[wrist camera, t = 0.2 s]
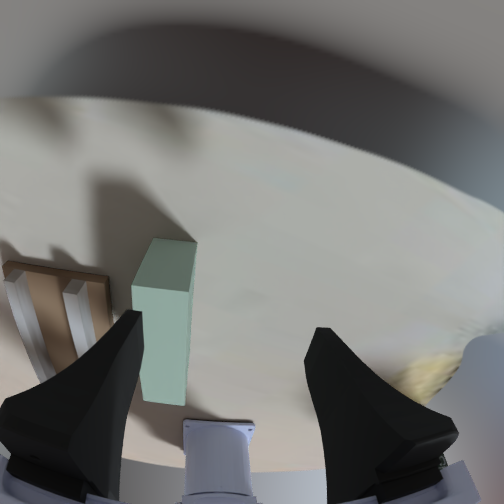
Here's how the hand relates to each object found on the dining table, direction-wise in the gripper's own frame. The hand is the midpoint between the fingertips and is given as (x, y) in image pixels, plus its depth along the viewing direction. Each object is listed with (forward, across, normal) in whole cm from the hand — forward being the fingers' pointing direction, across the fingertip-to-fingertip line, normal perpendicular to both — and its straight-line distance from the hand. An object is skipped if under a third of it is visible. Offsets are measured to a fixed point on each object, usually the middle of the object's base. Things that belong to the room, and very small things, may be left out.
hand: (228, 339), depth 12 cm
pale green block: (+10, +3, +5) cm, 11 cm away
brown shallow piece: (+9, +13, +11) cm, 20 cm away
